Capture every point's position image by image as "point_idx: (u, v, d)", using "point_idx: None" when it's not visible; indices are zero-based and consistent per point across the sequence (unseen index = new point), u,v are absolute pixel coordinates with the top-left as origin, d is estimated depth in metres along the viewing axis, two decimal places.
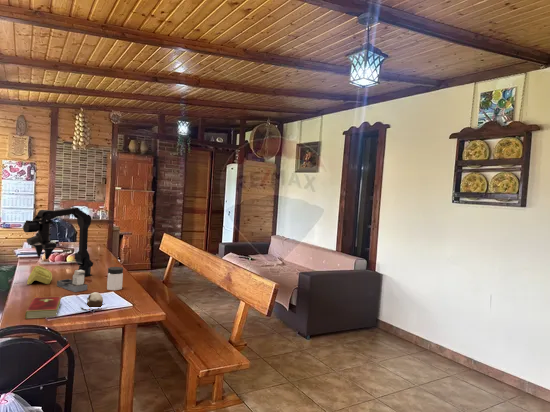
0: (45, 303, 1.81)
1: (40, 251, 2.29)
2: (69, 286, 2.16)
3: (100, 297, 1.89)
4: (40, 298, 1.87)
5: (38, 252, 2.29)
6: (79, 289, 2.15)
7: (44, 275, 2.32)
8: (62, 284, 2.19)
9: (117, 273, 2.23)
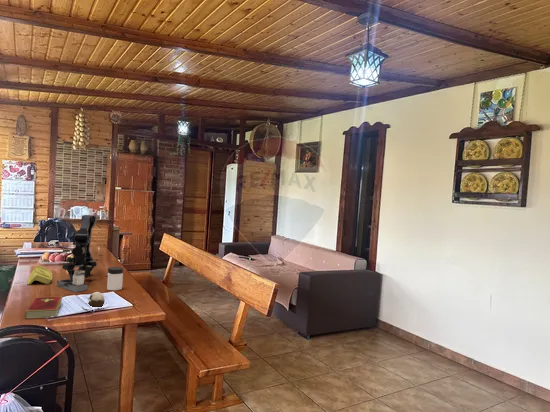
0: (45, 303, 1.81)
1: (87, 273, 2.37)
2: (69, 286, 2.16)
3: (102, 297, 1.90)
4: (41, 298, 1.87)
5: (86, 273, 2.38)
6: (79, 289, 2.15)
7: (44, 275, 2.33)
8: (62, 284, 2.19)
9: (117, 273, 2.23)
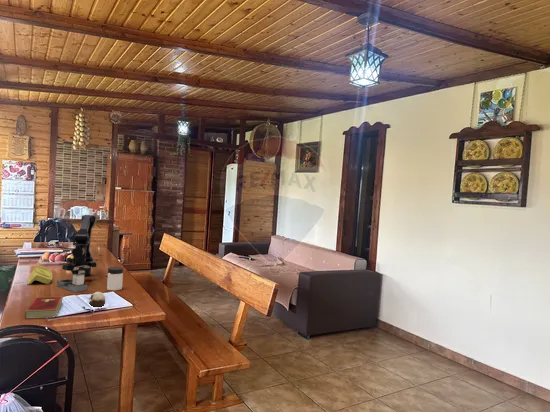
0: (46, 303, 1.81)
1: None
2: (69, 286, 2.16)
3: (102, 297, 1.90)
4: (42, 298, 1.87)
5: None
6: (79, 289, 2.15)
7: (44, 275, 2.33)
8: (62, 284, 2.19)
9: (117, 273, 2.23)
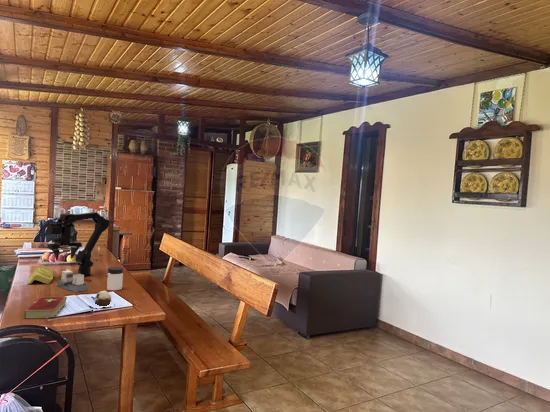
0: (47, 303, 1.81)
1: (72, 253, 2.42)
2: (69, 286, 2.16)
3: (108, 295, 1.93)
4: (45, 298, 1.88)
5: (71, 254, 2.42)
6: (79, 289, 2.15)
7: (46, 275, 2.33)
8: (62, 284, 2.19)
9: (117, 273, 2.23)
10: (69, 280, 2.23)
